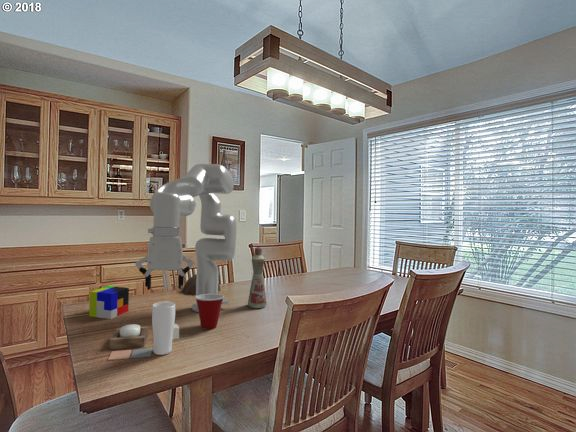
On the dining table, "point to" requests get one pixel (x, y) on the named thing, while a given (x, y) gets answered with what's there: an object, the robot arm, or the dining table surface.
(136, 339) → the button frame
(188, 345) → the dining table surface
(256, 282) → the bottle
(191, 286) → the decorative dome
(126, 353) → the pad
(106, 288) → the puzzle toy
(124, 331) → the dome button
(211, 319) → the plastic cup
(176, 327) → the white cube
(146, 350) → the pad mid
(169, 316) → the drinking glass
